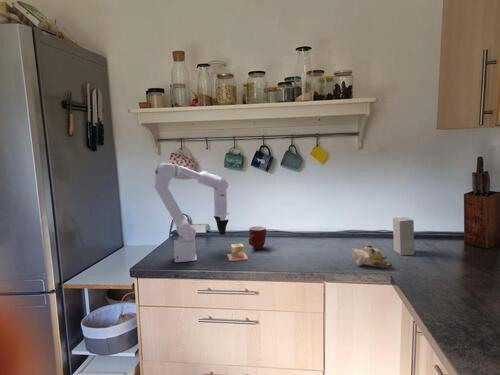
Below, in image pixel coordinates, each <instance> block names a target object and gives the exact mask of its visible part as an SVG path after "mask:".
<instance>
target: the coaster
mask: <svg viewBox="0 0 500 375" xmlns="http://www.w3.org/2000/svg"><path fill="white" fill-rule="evenodd" d="M227 258H228V260H229V262H235V261H236V262H238V261H239V262H240V261H248V260H249V258H248V256H247V254H246V253H245V252H244V258H232V256H231V253H229V254H227Z"/></svg>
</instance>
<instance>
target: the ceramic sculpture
mask: <svg viewBox="0 0 500 375" xmlns="http://www.w3.org/2000/svg"><path fill="white" fill-rule="evenodd" d="M352 257H353V260H354V262H355V265H357V266H358V267H361V266H362V265H366V266H369V267H379V268H388V267H392V266H393V264H392V263H389V262H388V261H386V259H387V256H383V253H382V252H381V250H380V249H378V248H373V247H372V245H367V246H365V247H364V248H363V249H358V248H355V247H352Z"/></svg>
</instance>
